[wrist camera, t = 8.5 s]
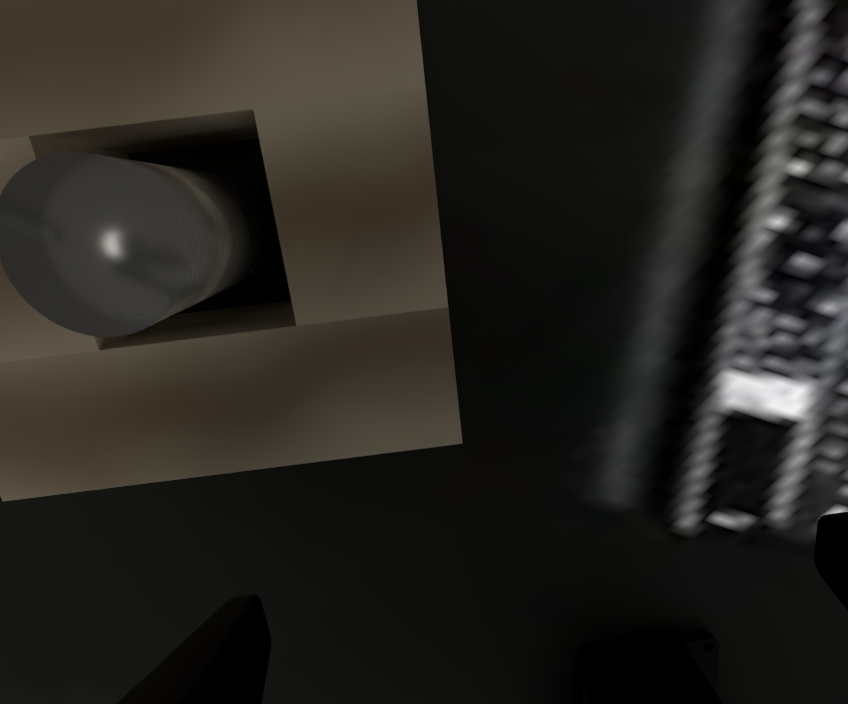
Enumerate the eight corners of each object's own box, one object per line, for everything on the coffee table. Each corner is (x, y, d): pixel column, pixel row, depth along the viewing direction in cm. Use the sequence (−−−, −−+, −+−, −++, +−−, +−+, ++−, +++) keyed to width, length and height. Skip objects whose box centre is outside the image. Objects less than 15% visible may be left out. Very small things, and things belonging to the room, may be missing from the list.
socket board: (448, 389, 19) (462, 443, 15) (92, 433, 19) (2, 501, 15) (402, -32, 15) (403, -127, 11) (-52, 22, 15) (-236, -51, 11)
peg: (289, 272, 18) (204, 325, 10) (193, 285, 18) (32, 347, 10) (269, 170, 17) (156, 140, 9) (166, 182, 16) (-36, 163, 9)
